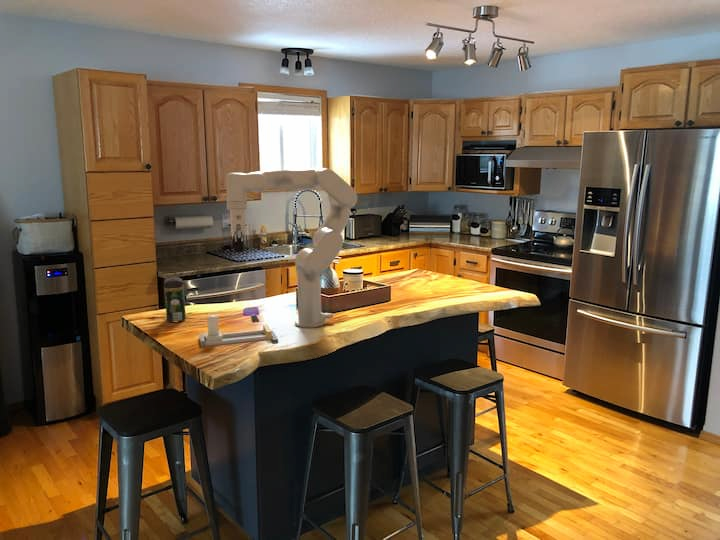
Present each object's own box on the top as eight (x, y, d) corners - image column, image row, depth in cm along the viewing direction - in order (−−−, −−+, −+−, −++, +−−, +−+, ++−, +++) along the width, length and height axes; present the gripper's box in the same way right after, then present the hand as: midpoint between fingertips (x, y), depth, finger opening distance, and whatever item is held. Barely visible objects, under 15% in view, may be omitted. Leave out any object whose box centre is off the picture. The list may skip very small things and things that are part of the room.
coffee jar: (167, 317, 257) (164, 276, 254) (186, 316, 259) (183, 274, 256) (165, 323, 248) (162, 280, 245) (185, 322, 250) (182, 279, 247)
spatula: (265, 326, 244) (265, 320, 244) (249, 327, 242) (248, 321, 242) (257, 311, 267) (257, 306, 266) (242, 313, 265) (242, 307, 265)
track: (272, 333, 233) (272, 323, 232) (278, 342, 221) (277, 331, 221) (199, 340, 224) (198, 330, 224) (201, 350, 213) (200, 339, 212)
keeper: (221, 337, 224) (220, 313, 222) (222, 342, 218) (221, 317, 216) (205, 338, 222) (203, 314, 220) (206, 343, 216) (204, 319, 214)
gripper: (249, 207, 217) (250, 253, 220) (244, 204, 233) (245, 246, 236) (228, 207, 215) (229, 253, 218) (225, 204, 231) (226, 247, 234)
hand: (237, 250), depth 227 cm, fingers open, 9 cm apart
